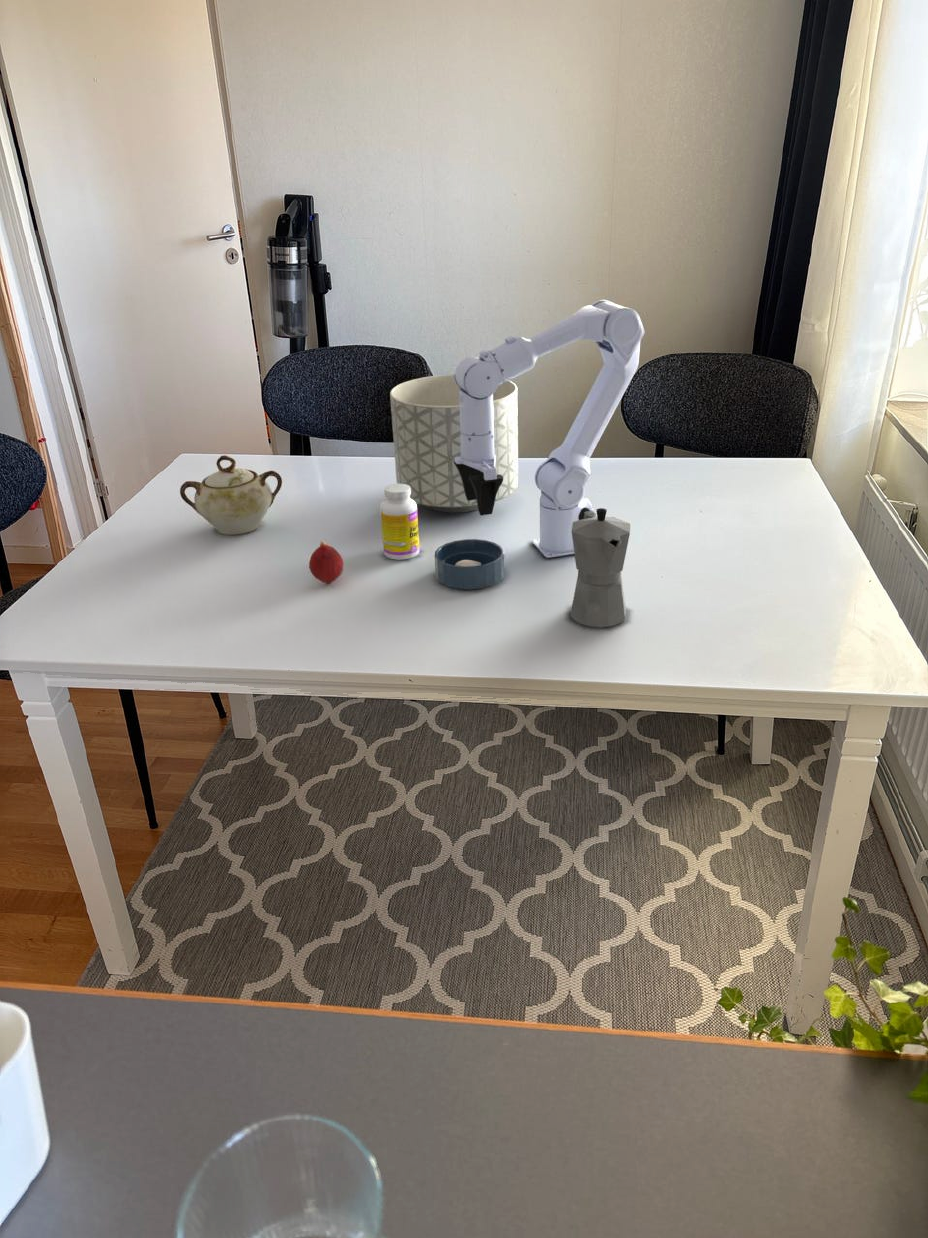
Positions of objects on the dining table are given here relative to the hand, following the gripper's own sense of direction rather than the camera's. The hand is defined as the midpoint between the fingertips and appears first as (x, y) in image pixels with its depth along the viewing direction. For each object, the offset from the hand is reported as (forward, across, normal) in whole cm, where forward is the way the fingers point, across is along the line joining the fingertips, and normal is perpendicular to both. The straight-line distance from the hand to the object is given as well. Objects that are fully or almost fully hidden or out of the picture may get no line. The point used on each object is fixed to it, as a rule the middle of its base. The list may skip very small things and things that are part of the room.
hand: (479, 506), depth 166 cm
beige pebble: (+10, +6, -4) cm, 12 cm away
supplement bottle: (+11, -8, -13) cm, 18 cm away
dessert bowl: (+10, +6, -4) cm, 12 cm away
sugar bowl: (+11, -33, -41) cm, 54 cm away
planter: (+10, -29, +4) cm, 31 cm away
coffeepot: (+10, +26, +11) cm, 30 cm away
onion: (+11, 0, -28) cm, 30 cm away
